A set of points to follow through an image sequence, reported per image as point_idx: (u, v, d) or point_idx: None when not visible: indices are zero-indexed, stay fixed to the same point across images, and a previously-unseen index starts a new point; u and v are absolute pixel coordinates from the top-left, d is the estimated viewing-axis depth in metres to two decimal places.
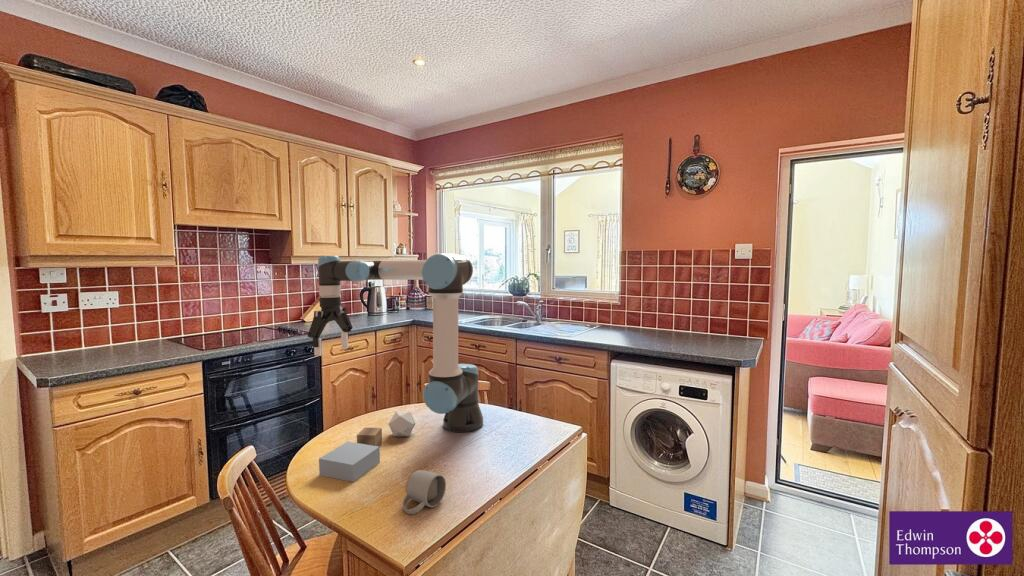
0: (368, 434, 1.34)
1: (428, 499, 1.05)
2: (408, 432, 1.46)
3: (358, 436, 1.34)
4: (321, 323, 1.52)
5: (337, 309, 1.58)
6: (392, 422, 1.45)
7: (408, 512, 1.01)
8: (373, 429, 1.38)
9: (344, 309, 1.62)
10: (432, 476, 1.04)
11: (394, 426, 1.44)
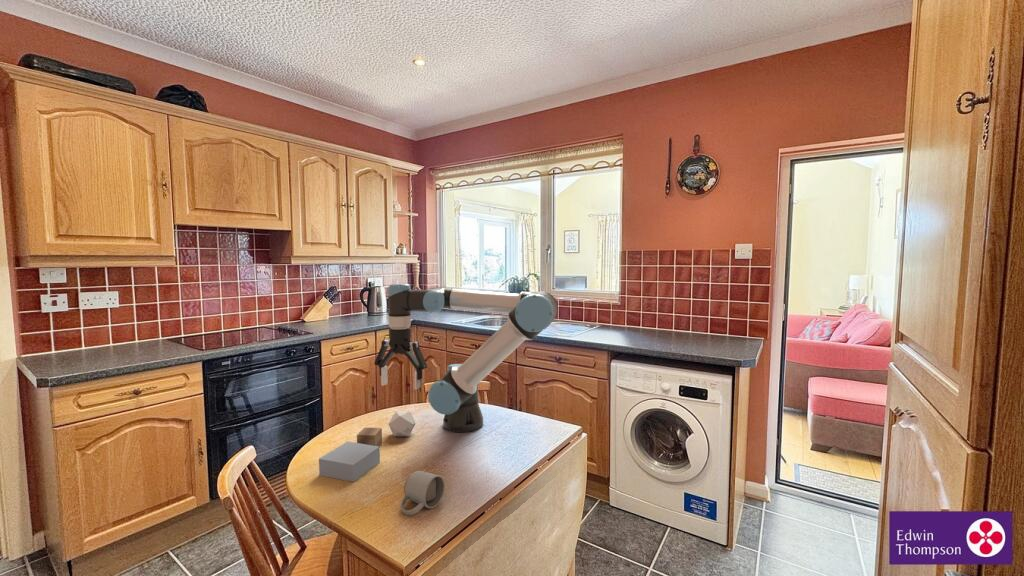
0: (368, 434, 1.34)
1: (427, 500, 1.04)
2: (408, 432, 1.46)
3: (358, 436, 1.34)
4: None
5: (404, 343, 1.44)
6: (392, 422, 1.45)
7: (406, 513, 1.00)
8: (373, 429, 1.38)
9: (413, 344, 1.43)
10: (430, 477, 1.04)
11: (394, 426, 1.44)
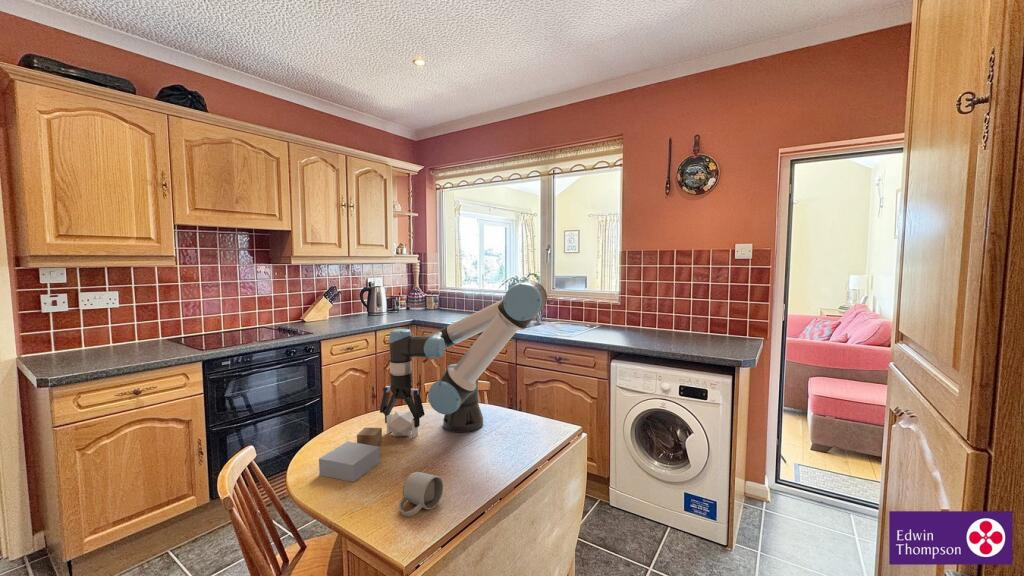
0: (368, 434, 1.34)
1: (425, 501, 1.04)
2: (408, 432, 1.46)
3: (358, 436, 1.34)
4: None
5: (405, 388, 1.45)
6: (392, 422, 1.45)
7: (405, 514, 1.00)
8: (373, 429, 1.38)
9: (414, 392, 1.44)
10: (429, 478, 1.03)
11: (394, 426, 1.44)
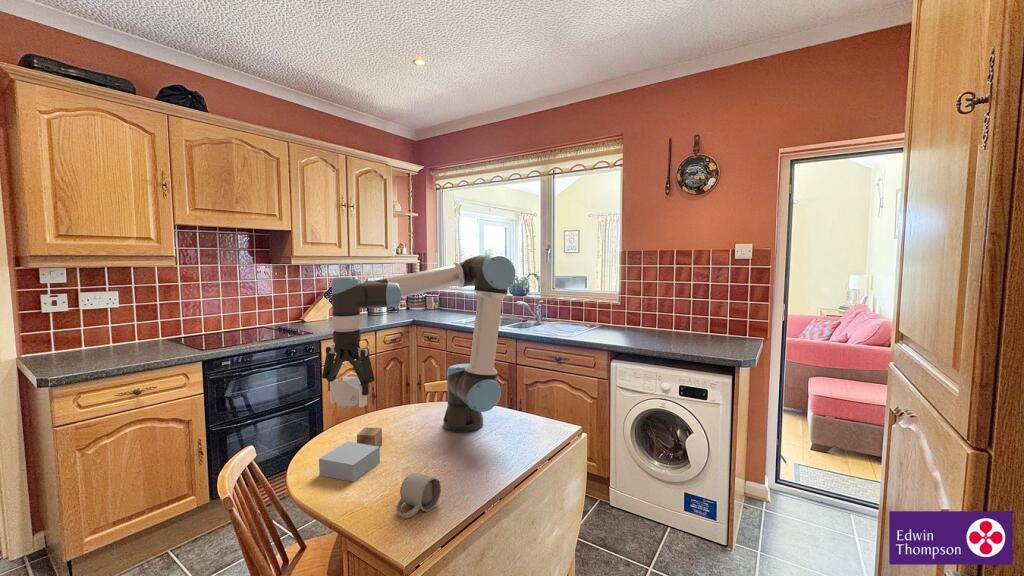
0: (368, 434, 1.34)
1: (423, 503, 1.03)
2: (355, 401, 1.20)
3: (358, 436, 1.34)
4: None
5: (351, 347, 1.20)
6: (335, 388, 1.20)
7: (402, 516, 0.99)
8: (373, 429, 1.38)
9: (361, 352, 1.19)
10: (426, 480, 1.03)
11: (337, 393, 1.19)
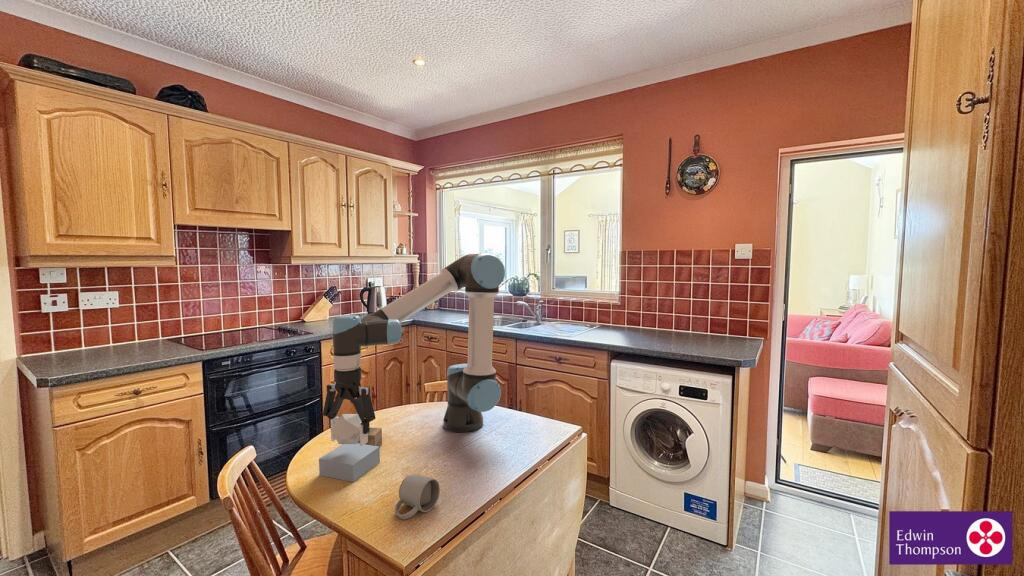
0: (368, 434, 1.34)
1: (421, 504, 1.03)
2: (355, 439, 1.21)
3: None
4: None
5: (352, 386, 1.20)
6: (336, 427, 1.20)
7: (401, 517, 0.99)
8: (373, 429, 1.38)
9: (362, 391, 1.19)
10: (425, 481, 1.02)
11: (338, 432, 1.19)
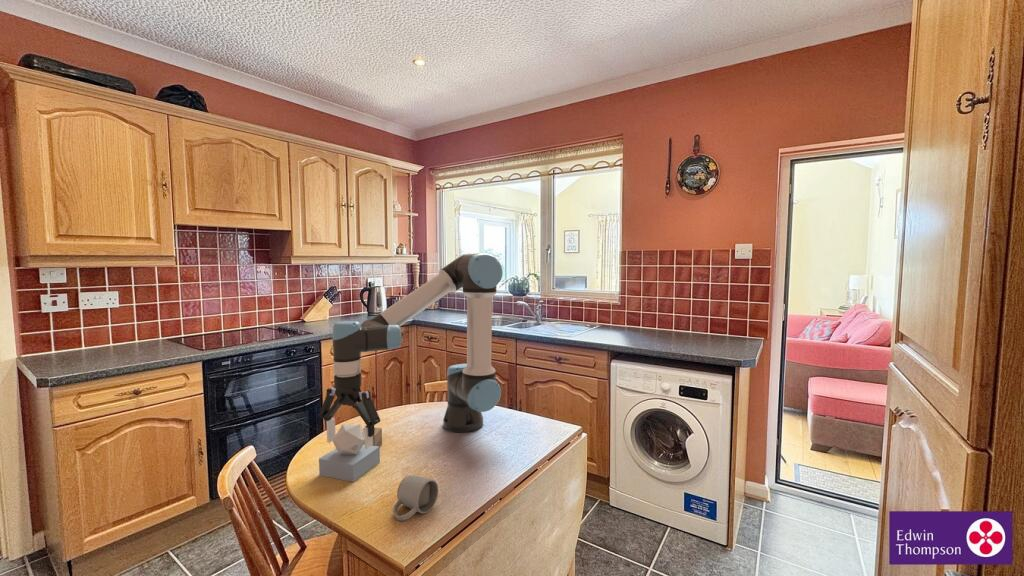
0: None
1: (420, 505, 1.02)
2: (356, 450, 1.21)
3: None
4: None
5: (352, 392, 1.20)
6: (336, 438, 1.20)
7: (399, 518, 0.98)
8: None
9: (362, 395, 1.19)
10: (423, 482, 1.02)
11: (338, 443, 1.20)
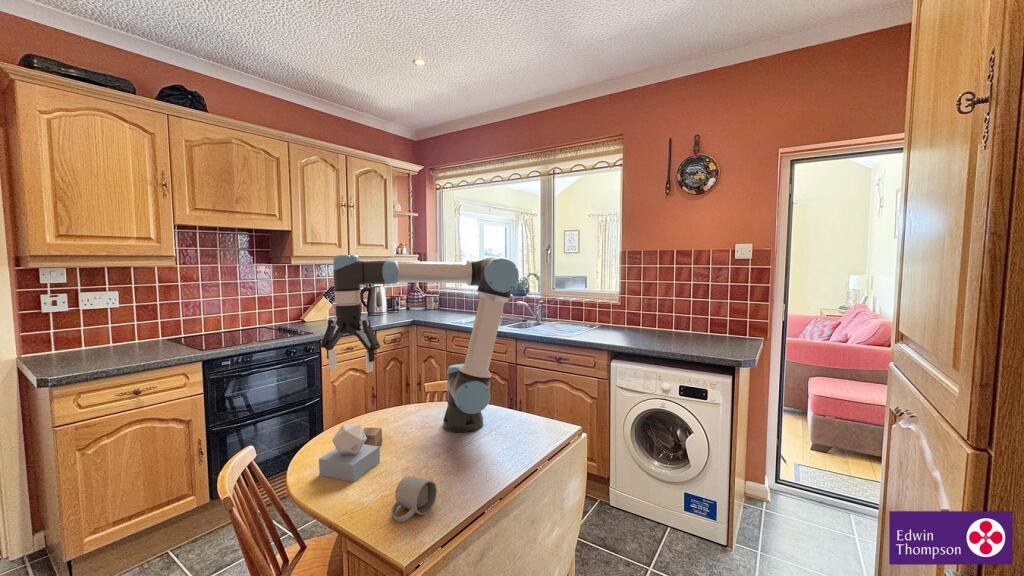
0: (368, 434, 1.34)
1: (418, 506, 1.02)
2: (356, 450, 1.21)
3: None
4: None
5: (353, 321, 1.28)
6: (336, 438, 1.20)
7: (397, 520, 0.98)
8: (373, 429, 1.38)
9: (363, 322, 1.27)
10: (422, 483, 1.01)
11: (338, 443, 1.20)
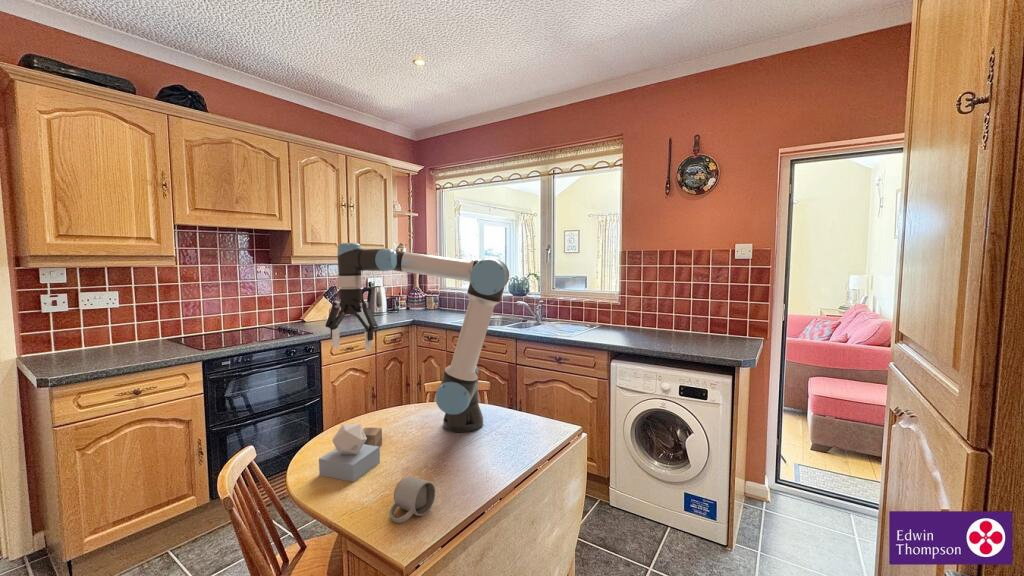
0: (368, 434, 1.34)
1: (417, 507, 1.01)
2: (356, 450, 1.21)
3: None
4: None
5: (354, 303, 1.41)
6: (336, 438, 1.20)
7: (395, 521, 0.97)
8: (373, 429, 1.38)
9: (363, 304, 1.40)
10: (420, 484, 1.01)
11: (338, 443, 1.20)
